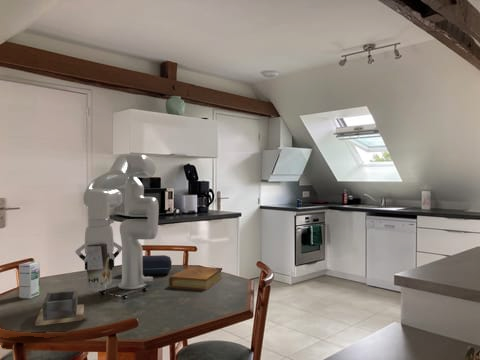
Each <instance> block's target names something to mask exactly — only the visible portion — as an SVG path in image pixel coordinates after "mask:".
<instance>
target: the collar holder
mask: <svg viewBox="0 0 480 360" xmlns="http://www.w3.org/2000/svg"><path fill="white" fill-rule="evenodd" d="M78 292H79V291H78V290H77V289H76V290H66V291H55V292H47V293H46V296H45V298H44V300H43V303H42V308H41V309H40V311H39V313H38V315H37V318H36V320H35V323H34V325H35V327H38V326H47V325H53V324H54V325H55V324H60V323H61V324H62V323H70V322H71V323H72V322H77V321H83V319H84V309H85V304H82V303H81V304H78V298H79V297H78Z"/></svg>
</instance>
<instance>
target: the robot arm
mask: <svg viewBox="0 0 480 360" xmlns="http://www.w3.org/2000/svg"><path fill="white" fill-rule="evenodd" d="M155 174H156V163H155V162H154V160H153V159H152V158H150V157H149V156H148V155H146V154H142V153H122V154H120V155H118V156H117V157H116V159H115V161H114V162H113V163H112V165H111V167H110V169H109V170H108V172H105V173H103V174H101V175H99V176H98V177H96V178H94V179H93V180H92V181H91V182H90V183H89V184H88V185H87V187H86V188H85V191H84V194H83V204H84V205H85V206H86V207H87V226H86V228H85V232H84V243H83V244H82V245H81V246H80V247H78V248H77V249H76V250H75V254H76V255H77V256H78V257H79V258H80V259H81V260H82V261H83V262H84V270H85V271H86V273H87V274H88V270H87V246H88V245H101V244H107V253H108V254H109V256H110V257H111V259H110V270H111V271H113V268H115V259H116V258H117V257H118V256H119V255H120V254H121V282H119V284H118V288H119V289H122V290H137V289H142V288H144V287H146V286H147V282H153V281H154V277H153V276H149V275H147V276H146V275H143V256H144V255H143V253H144V252H143V251H144V249H143V246H142V244H141V242H139V240H155V238H157V236H158V232H159V231H158V229H159V215H160V214H159V213H160V211H159V208H160V207H159V206H160V205H159V201H158V199H157V198H156V197H154V196H144V195H145V186H144V184H143V183H142V181H141V180H140V179H139V178H152V177H153V176H154V175H155ZM123 186H125V197H124V214H126V216H128V217H146V218H147V219H146V218H143V219H142V218H131V219H130V218H129V219H125V220H123V221H121V222H120V225H119V234H120V235H119V236H120V240H121V245H120V244H118V243H116V242H115V239H114V230H113V227H112V226H111V224H114V223H115V221H114V219H111V218H110V209H115V208H118V207H119V206H120V205H121V204H122V202H123V193H122V191H120V190H119V189H117V188H120V187H123ZM114 248H116V250H115V249H114ZM114 250H115V251H114ZM82 251H84V254H83V253H82ZM113 252H114V253H113Z"/></svg>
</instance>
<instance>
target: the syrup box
mask: <svg viewBox="0 0 480 360" xmlns="http://www.w3.org/2000/svg"><path fill="white" fill-rule="evenodd" d="M40 264H41V263H40V261H28V262H24V263H20V264H18V283H19V284H18V287H19V293H18V294H19V298H21V299H33V298H34V297H37V296H39V295H40V296H41V278H40V277H41V271H40V266H41V265H40Z"/></svg>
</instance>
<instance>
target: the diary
mask: <svg viewBox="0 0 480 360" xmlns="http://www.w3.org/2000/svg"><path fill="white" fill-rule="evenodd" d="M222 271H223V267H213V266H212V267H209V266H193V265H189V266H187V267H186V268H184V269H182V270H179V271H178V272H177V273H175V274H172V275H171V276H170V277H169V279H168V287H169V288H172V289H182V290H195V291H196V290H198V291H208V290H210V288H212V287H213V286H215V284H217V283H218V282H219V281H220V280H222V279H223V277H222Z"/></svg>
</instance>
